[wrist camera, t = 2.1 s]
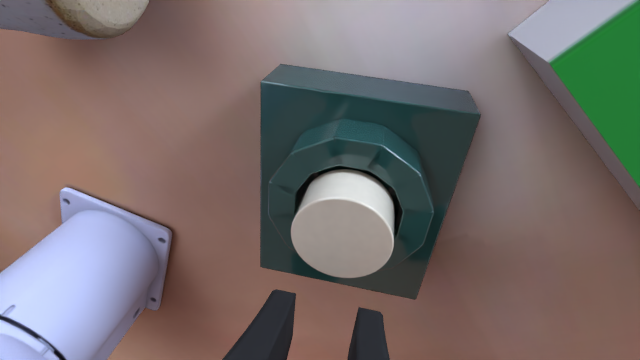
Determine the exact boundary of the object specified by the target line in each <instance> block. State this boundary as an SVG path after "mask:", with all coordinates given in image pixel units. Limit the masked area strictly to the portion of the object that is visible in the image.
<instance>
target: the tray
mask: <svg viewBox="0 0 640 360" xmlns="http://www.w3.org/2000/svg"><path fill="white" fill-rule="evenodd" d="M508 35H509V36H510V38H511V39H512V40H513V42H514V43H515V44H516V46H517V47H518V48H519V50H520V51H521V52H522V54H523V55H524V57H525V58H526V59H527V61H528V62H529V63H530V65H531V66H532V67H533V69H534V70H535V71H536V73H537V74H538V75H539V77H540V78H541V79H542V81H543V82H544V83H545V85H546V86H547V87H548V89H549V90H550V91H551V93H552V94H553V95H554V97H555V98H556V99H557V101H558V102H559V103H560V105H561V106H562V107H563V109H564V110H565V111H566V113H567V114H568V115H569V117H570V118H571V119H572V121H573V122H574V123H575V125H576V126H577V127H578V129H579V130H580V131H581V133H582V134H583V135H584V137H585V138H586V140H587V141H588V142H589V144H590V145H591V146H592V148H593V149H594V150H595V152H596V153H597V154H598V156H599V157H600V158H601V160H602V161H603V162H604V164H605V165H606V166H607V168H608V169H609V170H610V172H611V173H612V174H613V176H614V177H615V178H616V180H617V181H618V182H619V184H620V185H621V186H622V188H623V189H624V190H625V192H626V193H627V194H628V196H629V197H630V198H631V200H632V201H633V202H634V204H635V205H636V206H637V208H638V209H639V210H640V0H550V1H548V2H547V3H546V4H545V5H543V6H542V7H541V8H540V9H538V10H537V11H536V12H535V13H533V14H532V15H531V16H529V17H528V18H527V19H526V20H524V21H523V22H522V23H521V24H519V25H518V26H517V27H515V28H514V29H513V30H512V31H510V32H509V33H508Z"/></svg>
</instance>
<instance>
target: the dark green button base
mask: <svg viewBox="0 0 640 360" xmlns="http://www.w3.org/2000/svg"><path fill="white" fill-rule="evenodd" d="M480 116H481V114H480V112H479V110H478V108H477V106H476V104H475V102H474V100H473V98H472V96H471V95H470V93H469V91H465V90H458V89H451V88H444V87H437V86H430V85H423V84H416V83H409V82H402V81H396V80H389V79H382V78H375V77H368V76H361V75H354V74H347V73H340V72H333V71H326V70H320V69H313V68H306V67H299V66H292V65H285V64H280V65H279V66H278V67H276V68H275V69H274V70H273V71H272V72H271V73H270V74H268V75H267V76H266V77H265V78H264V79H263V80H262V81H261V186H260V267H262V268H267V269H272V270H276V271H281V272H286V273H291V274H295V275H300V276H305V277H310V278H314V279H319V280H324V281H329V282H333V283H338V284H343V285H348V286H352V287H357V288H362V289H367V290H371V291H376V292H381V293H386V294H390V295H395V296H400V297H405V298H409V299H414V300H415V299H416V298H417V295H418V292H419V289H420V286H421V283H422V281H423V278H424V275H425V272H426V269H427V266H428V264H429V261H430V258H431V255H432V252H433V249H434V247H435V244H436V241H437V238H438V235H439V232H440V230H441V227H442V224H443V221H444V218H445V215H446V213H447V210H448V207H449V204H450V201H451V198H452V196H453V193H454V190H455V187H456V184H457V181H458V179H459V176H460V173H461V170H462V167H463V164H464V162H465V159H466V156H467V153H468V150H469V147H470V145H471V142H472V139H473V136H474V133H475V130H476V128H477V125H478V122H479V119H480ZM340 169H349V170H356V171H360V172H363V173H366V174H368V175H370V176H372V177H374V178H375V179H377V180H378V181H379V182H380V183H382V184H383V186H384V187H385V188H386V189H387V190H388V192H389V193H390V195H391V197H392V199H393V202H394V207H395V221H394V248H393V252H392V254H391V256H390V258H389V260H388V261H387V262H386V264H385V265H384V266H383V267H381V268H380V269H379V270H377V271H376V272H374V273H372V274H369V275H366V276H362V277H357V278H340V277H334V276H330V275H327V274H324V273H322V272H320V271H318V270H316V269H314V268H313V267H311V266H310V265H308V264H307V263H306V262H305V261H304V260H303V259H302V258H301V257H300V256H299V254H298V253H297V251H296V250H295V248H294V245H293V243H292V238H291V225H292V222H293V219H294V217H295V214H296V212H297V209H298V207H299V205H300V202H301V200H302V197H303V195H304V192H305V190H306V188H307V187H308V185H309V184H310V183H311V182H312V181H313V180H314V179H315V178H317V177H318V176H320V175H322V174H324V173H326V172H329V171H333V170H340Z"/></svg>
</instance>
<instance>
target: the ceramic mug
mask: <svg viewBox="0 0 640 360" xmlns="http://www.w3.org/2000/svg"><path fill="white" fill-rule="evenodd" d="M148 3H149V0H0V29H8V30H18V31H24V32H29V33H35V34H40V35H45V36H51V37H57V38H64V39H80V40H85V39H108V38H113V37H116V36H119V35H121V34H124V33H125V32H127V31H128V30H130V29H131V28H132V27H133V25H134V24H135V23H136V22H137V21H138V20H139V18H140V17H141V15H142V14H143V12H144V11H145V9H146V7H147V5H148Z"/></svg>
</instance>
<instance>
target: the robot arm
mask: <svg viewBox="0 0 640 360" xmlns="http://www.w3.org/2000/svg"><path fill="white" fill-rule="evenodd" d="M60 203H61V217H62V225H61V226H59V227H58V228H57V229H55V230H54V231H53V232H52V233H50V234H49V235H48V236H47V237H45V238H44V239H43V240H41V241H40V242H39V243H38V244H36V245H35V246H34V247H32V248H31V249H30V250H29V251H27V252H26V253H25V254H24V255H22V256H21V257H20V258H18V259H17V260H16V261H15V262H13V263H12V264H11V265H10V266H8V267H7V268H6V269H4V270H3V271H2V272H1V273H0V360H107V359H108V357H109V356H110V354H111V353H112V352H113V350H114V349H115V348H116V346H117V345H118V344H119V342H120V341H121V339H122V338H123V337H124V335H125V334H126V333H127V331H128V330H129V329H130V327H131V326H132V324H133V323H134V322H135V320H136V319H137V318H138V316H139V315H140V314H141V312H142V311H143V309H144V308H145V307H146V308H148V309H151V310H154V311H156V310H158V309H159V307H160V305H161V299H162V293H163V287H164V281H165V275H166V269H167V263H168V257H169V252H170V246H171V240H172V232H171V230H170V229H168V228H166V227H164V226H162V225H159V224H157V223H154V222H152V221H149V220H147V219H144V218H142V217H140V216H137V215H135V214H132V213H130V212H127V211H125V210H122V209H120V208H118V207H115V206H113V205H110V204H108V203H105V202H103V201H100V200H98V199H96V198H93V197H91V196H88V195H86V194H83V193H81V192H78V191H76V190H74V189H71V188H68V187H66V188H64V189H62V190H61V191H60ZM295 299H296V294H295V293H291V292H286V291H281V290H277V289H276V290H274V291H272V292H271V294H270V296H269V297H268V299H267V301H266V302H265V304H264V305H263V307H262V308H261V310H260V311H259V313H258V314H257V316H256V317H255V318H254V320H253V321H252V322H251V324H250V325H249V327H248V328H247V329H246V331H245V332H244V333H243V334H242V336H241V337H240V338H239V339H238V341H237V342H236V343H235V344H234V346H233V347H232V348H231V350H230V351H229V352H228V353H227V354H226V356H225V357H224V358H223V359H222V360H287V356H288V352H289V348H290V344H291V340H292V336H293V324H294V311H295ZM348 360H390V358H389V354H388V349H387V343H386V338H385V331H384V323H383V315H382V314H381V313H380V312H378V311H374V310H369V309H364V308H360V307H359V308H358V313H357V317H356V321H355V326H354V330H353V334H352V339H351V343H350V348H349V354H348Z"/></svg>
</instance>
